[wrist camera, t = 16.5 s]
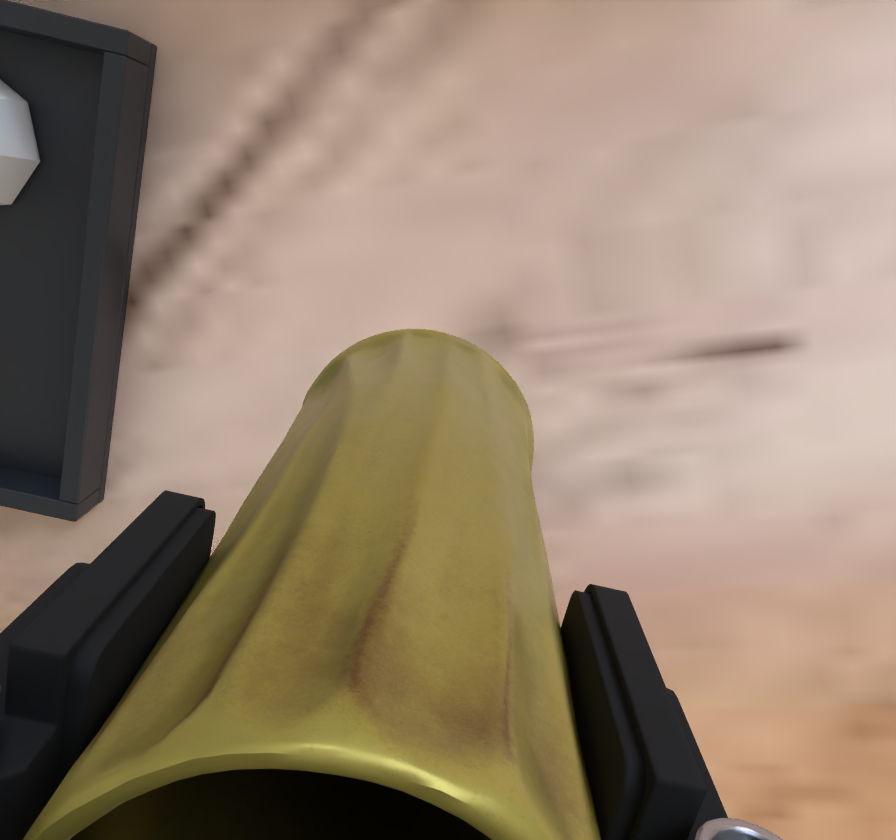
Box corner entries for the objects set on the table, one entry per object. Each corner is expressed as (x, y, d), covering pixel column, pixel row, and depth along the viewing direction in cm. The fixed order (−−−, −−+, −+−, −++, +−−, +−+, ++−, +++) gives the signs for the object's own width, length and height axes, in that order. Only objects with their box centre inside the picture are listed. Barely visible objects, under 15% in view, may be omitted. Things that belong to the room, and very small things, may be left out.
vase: (310, 552, 21) (1, 1265, 7) (287, 331, 19) (-189, 697, 5) (533, 546, 20) (673, 1267, 7) (531, 321, 19) (715, 676, 5)
